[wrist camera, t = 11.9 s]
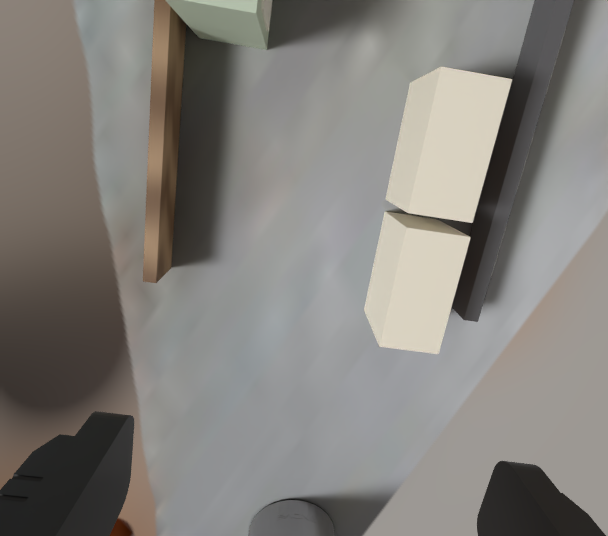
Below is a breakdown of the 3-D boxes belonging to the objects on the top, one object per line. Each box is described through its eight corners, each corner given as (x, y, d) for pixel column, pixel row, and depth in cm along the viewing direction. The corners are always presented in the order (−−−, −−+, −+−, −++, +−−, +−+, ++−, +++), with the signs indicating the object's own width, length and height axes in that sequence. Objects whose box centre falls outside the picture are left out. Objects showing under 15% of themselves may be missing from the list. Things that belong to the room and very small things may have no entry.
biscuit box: (468, 93, 32) (514, 79, 25) (439, 207, 34) (474, 223, 28) (409, 82, 31) (441, 66, 25) (385, 199, 34) (407, 213, 27)
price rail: (466, 308, 37) (481, 322, 34) (450, 306, 37) (463, 319, 34) (562, -23, 29) (591, -41, 27) (542, -27, 29) (569, -46, 26)
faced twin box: (438, 219, 35) (472, 237, 28) (414, 316, 37) (440, 354, 30) (384, 211, 34) (406, 227, 28) (363, 309, 37) (379, 346, 30)
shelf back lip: (171, 267, 35) (156, 283, 31) (159, 266, 35) (142, 281, 31) (193, -96, 28) (177, -134, 24) (178, -99, 28) (160, -137, 24)
